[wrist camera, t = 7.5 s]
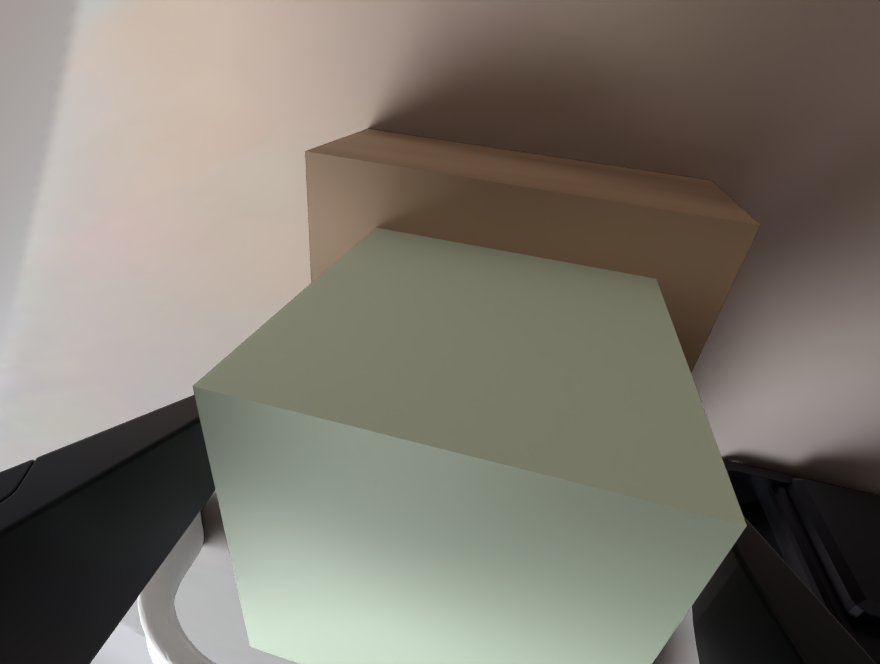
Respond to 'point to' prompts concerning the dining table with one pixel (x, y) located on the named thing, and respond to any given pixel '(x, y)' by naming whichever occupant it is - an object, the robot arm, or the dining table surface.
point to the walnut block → (534, 214)
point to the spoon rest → (171, 603)
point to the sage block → (465, 463)
